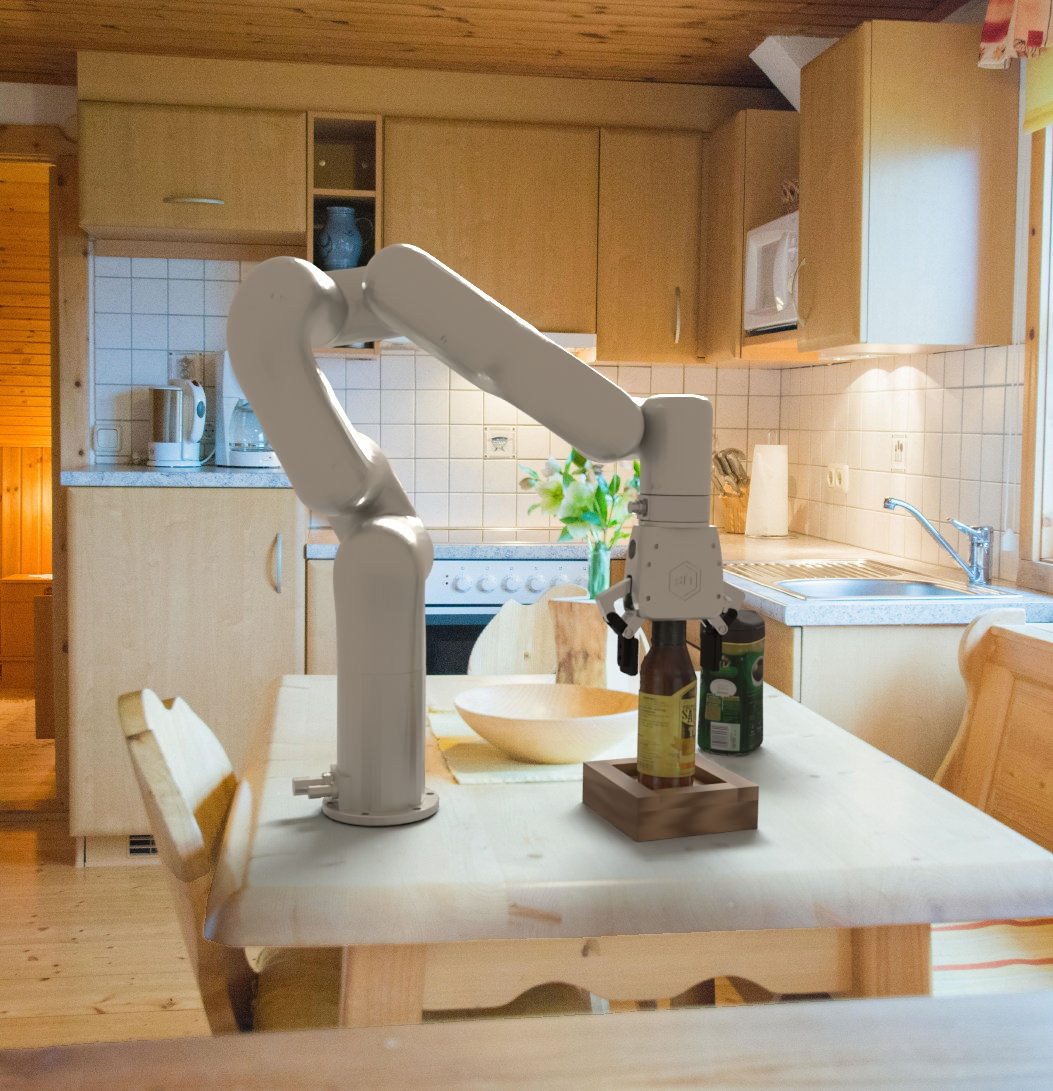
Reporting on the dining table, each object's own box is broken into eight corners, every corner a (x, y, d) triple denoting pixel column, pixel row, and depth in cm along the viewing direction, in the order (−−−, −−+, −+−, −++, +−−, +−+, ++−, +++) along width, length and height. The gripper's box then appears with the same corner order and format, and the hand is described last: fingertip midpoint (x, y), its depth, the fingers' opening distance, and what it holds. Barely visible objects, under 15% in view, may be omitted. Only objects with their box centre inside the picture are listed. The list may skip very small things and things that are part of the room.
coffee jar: (713, 736, 158) (717, 603, 156) (769, 744, 154) (773, 608, 153) (688, 751, 149) (691, 611, 148) (746, 760, 146) (750, 616, 144)
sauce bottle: (692, 797, 119) (697, 609, 117) (633, 793, 120) (637, 607, 119) (696, 780, 125) (701, 601, 124) (639, 776, 127) (643, 599, 125)
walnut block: (636, 841, 114) (637, 797, 114) (582, 801, 127) (583, 761, 127) (757, 827, 119) (758, 785, 119) (693, 790, 132) (694, 752, 132)
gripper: (614, 514, 114) (610, 682, 115) (764, 514, 120) (758, 674, 121) (585, 510, 121) (581, 669, 122) (727, 510, 127) (722, 661, 128)
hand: (669, 671), depth 122 cm, fingers open, 9 cm apart
